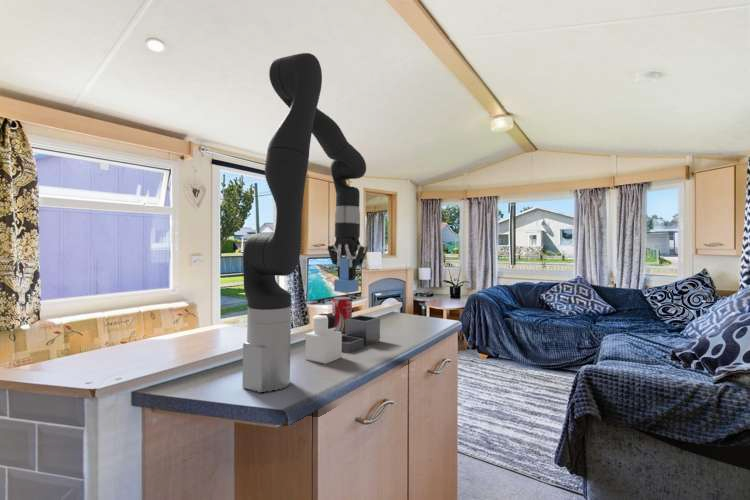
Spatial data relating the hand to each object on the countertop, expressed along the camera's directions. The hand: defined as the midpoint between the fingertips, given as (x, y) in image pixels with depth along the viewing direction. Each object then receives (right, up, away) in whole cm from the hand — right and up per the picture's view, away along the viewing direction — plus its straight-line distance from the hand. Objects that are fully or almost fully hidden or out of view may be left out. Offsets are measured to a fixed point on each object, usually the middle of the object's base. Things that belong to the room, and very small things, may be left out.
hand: (346, 279), depth 116 cm
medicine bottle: (-5, -21, -11) cm, 24 cm away
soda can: (-3, -21, +23) cm, 31 cm away
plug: (0, -4, 0) cm, 4 cm away
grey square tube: (+5, -21, +8) cm, 23 cm away
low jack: (0, -21, 0) cm, 21 cm away
